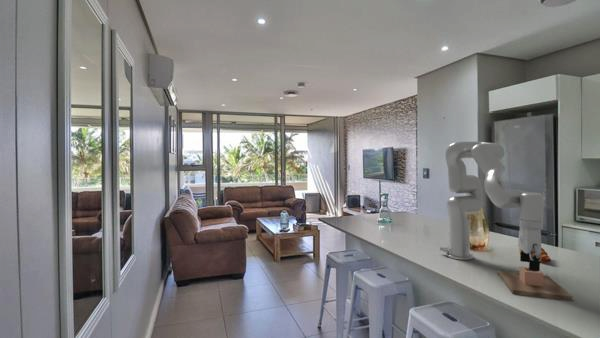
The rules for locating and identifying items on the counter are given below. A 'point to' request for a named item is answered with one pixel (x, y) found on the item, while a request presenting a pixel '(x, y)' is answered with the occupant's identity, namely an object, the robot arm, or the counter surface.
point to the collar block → (530, 276)
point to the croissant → (542, 256)
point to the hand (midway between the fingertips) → (529, 265)
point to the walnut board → (534, 287)
